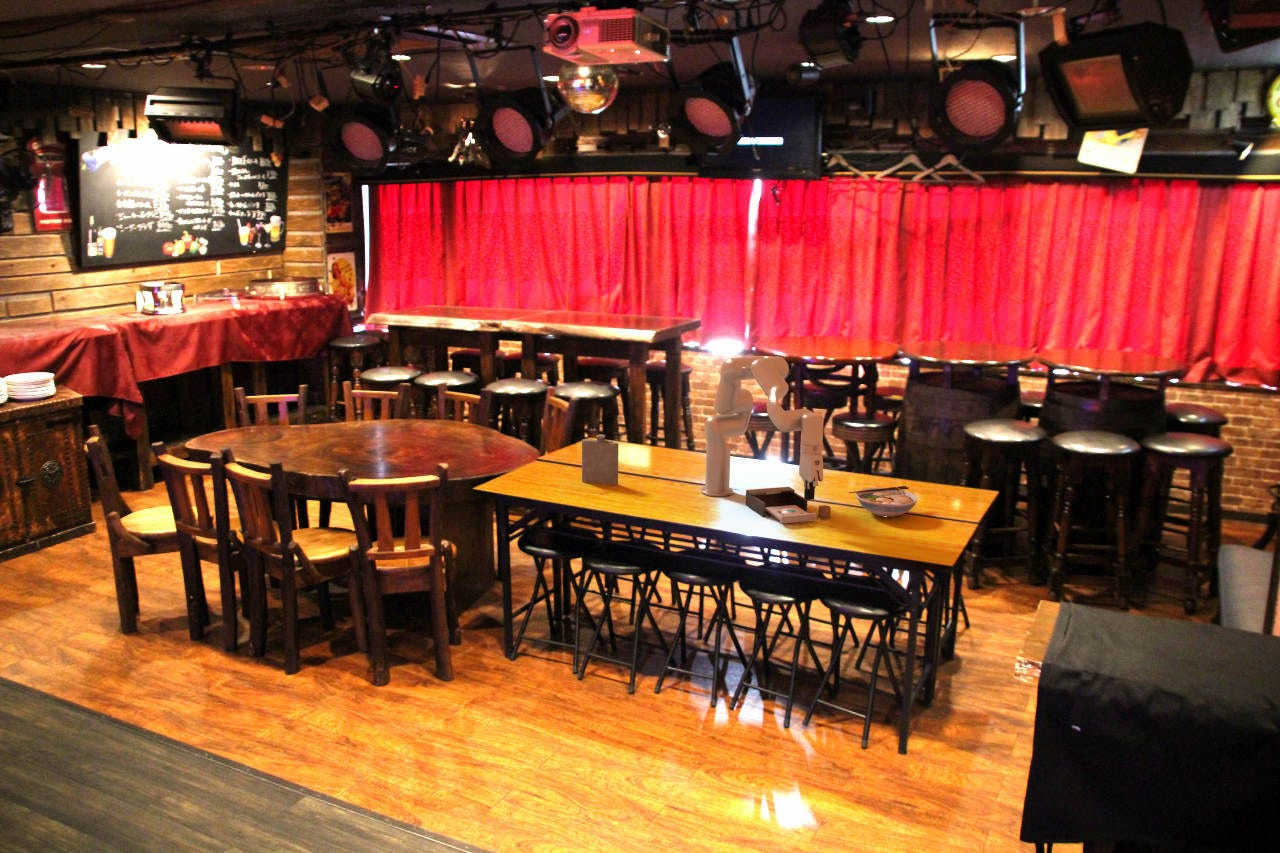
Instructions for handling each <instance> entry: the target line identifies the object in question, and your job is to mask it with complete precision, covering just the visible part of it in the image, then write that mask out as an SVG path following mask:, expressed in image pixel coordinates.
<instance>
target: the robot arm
mask: <svg viewBox="0 0 1280 853" xmlns="http://www.w3.org/2000/svg"><path fill="white" fill-rule="evenodd" d="M789 367H790V366H789V363H788V362H787V360H785V358H783V357H781V356H770V355H769V356H768V355H767V356H766V355H760V356H757V355H756V356H746V357H745V356H744V357H731V358H726V359H724V361H723V362H722V363H721V367H720V372H719V373H720V375H719V382H718V385H717V390H716V394H715V396H714V397H715V398H714V403H713V408H714V411H715V412H716V414H715V415H714V414H713V415H711V416H709V417H708V418H706V419H705V421H704V433H705V434H704V435H705V442H706V444H705V445H706V446H705V447H706V448H705V449H706V450H705V451H706V452H705V454H706V455H705V485H704V486H703V487H702V488H701V491H700V492H701V493H702V494H703V495H705V496H708V497H709V496H710V497H729V496H731V495H733V493H734V490H733V488H732V487H730V479H731V478H730V476H731V472H730V470H731V447H730V445H729V443H728V442H727V439H729V438H736V437H740V436H741V437H742V436H743V435H744V434H745V433H746V431H747V429H748V427H749V422H750V419H751V416H752V412H753V408H754V397H753V394H752V393H751V392H750V391H749V390H748V389H746V388H741V387H742V381H746V380H747V381H749V380H755V381H756V383H757V384H758V385H759V387H760V388H761V389H762V391H763V392H764V394H765V396H766V397H767V400H766V411H767V416H768V418H769V419H770V421H771V422H772V424H773V425H774V426H775V428H777V430H778V431H779V432H781V433H792V432H798V431H799V432H800V433H801V434H800V455H799V456H800V457H799V465H798V467H799V469H798V473H799V474H798V475H799V477H800V478H801V481H802V482H803V487H804V489H803V490H804V491H803V493H804V495H803V497H804V499H806V500H808V501H812V500H815V490H816V487H819V484H820V483H819V482H821V483H822V482H823V480H824V461H823V459H824V458H823V441H824V440H823V438H824V437H823V436H824V416H823V415H822V414H820V413H817V412H813V411H811V410H810V409H806V408H799V409H790V410H789V409H788V410H784V408H783V407H782V406H781V404H780V402H779V401H780V400H781V399H783V398H784V397H785V396H786V395H787V393H788V392H789V384H788V383H787V382H786V380H785V378H786V377H787V376H788V375H789V371H790V368H789Z"/></svg>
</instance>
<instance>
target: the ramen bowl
mask: <svg viewBox="0 0 1280 853" xmlns="http://www.w3.org/2000/svg"><path fill="white" fill-rule="evenodd" d="M909 488H910V487H909V486H907V485H902V486H894V487H893V486H892V487H869V488H861V489H860V490H857V491H849V492H848V494H855V496H856V499H857V501H858V502H859V504H860V505H861V506H862V507H863V508H864V509H865V510H866V511H867V512H870V513H872V514H874V515H875V516H877V515H879V516H878V517H880V516H887V517H886V518H893V517H892V516H894V517H896V516H901V515H904V514H906V513H908V512H909V511H911V510H912V509H913V508H914V507H915V505H916V504H917V503H918V500H919V497H918V496H917V495H916V494H914V493H912V492H909V491H907V490H909Z"/></svg>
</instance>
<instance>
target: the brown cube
mask: <svg viewBox="0 0 1280 853" xmlns="http://www.w3.org/2000/svg"><path fill="white" fill-rule="evenodd" d="M831 508H832V507H831V506H829V505H826V504H825V505H824V504H823V505H822V504H820V505H819V506H818V513H817V518H818V519H820V520H829V518H830V519H831V511H832V509H831Z"/></svg>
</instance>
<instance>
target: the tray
mask: <svg viewBox="0 0 1280 853" xmlns="http://www.w3.org/2000/svg"><path fill="white" fill-rule="evenodd" d="M786 508H793V509H798V510H800V511H801V514H797V515H785V516H782V515H781V511H782V509H786ZM765 511H766V512H768V513H769V514H771V515H772V516H773V517H774V518H775V519H776V520H778V521H779V523H780V524H788V523H789V524H790V523H801V522H812V521H813V522H814V521H817V518H818V513H816V512H812V513H811V512H810V513H809V512H808V511H807V512H806V511H804V510H802V509H801V508H799V507H798V506H796V505H790V506H778V507H766V508H765Z"/></svg>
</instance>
